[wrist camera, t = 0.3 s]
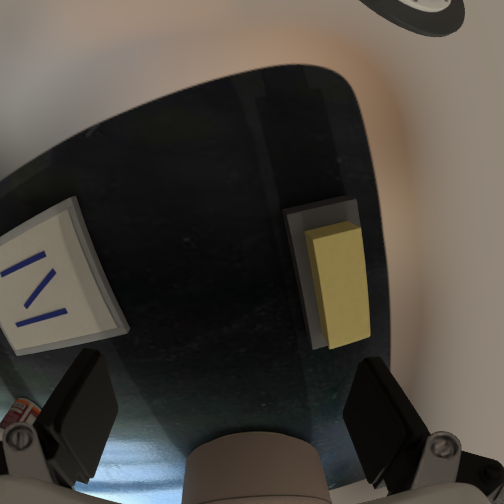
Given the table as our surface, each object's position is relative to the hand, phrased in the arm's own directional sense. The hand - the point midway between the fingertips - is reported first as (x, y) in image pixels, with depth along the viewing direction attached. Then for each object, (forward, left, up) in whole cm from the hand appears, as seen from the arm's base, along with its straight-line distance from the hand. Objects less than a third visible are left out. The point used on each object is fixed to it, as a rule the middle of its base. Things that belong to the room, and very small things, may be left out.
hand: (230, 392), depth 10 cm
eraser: (0, +8, -15) cm, 17 cm away
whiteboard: (+5, -20, -15) cm, 26 cm away
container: (+29, +4, -16) cm, 33 cm away
